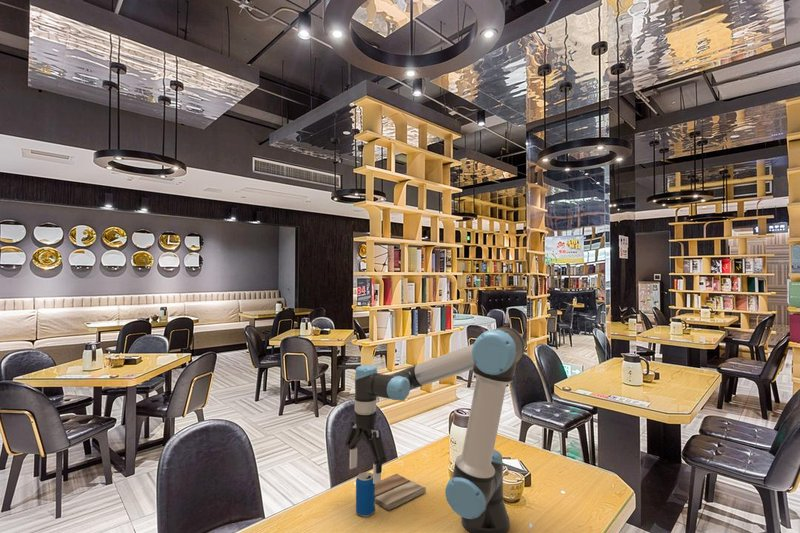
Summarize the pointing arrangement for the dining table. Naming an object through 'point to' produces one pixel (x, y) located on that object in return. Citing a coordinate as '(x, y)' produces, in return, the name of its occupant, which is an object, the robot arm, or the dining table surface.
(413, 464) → the dining table surface
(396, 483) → the walnut board
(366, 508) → the beverage can
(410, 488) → the plank
